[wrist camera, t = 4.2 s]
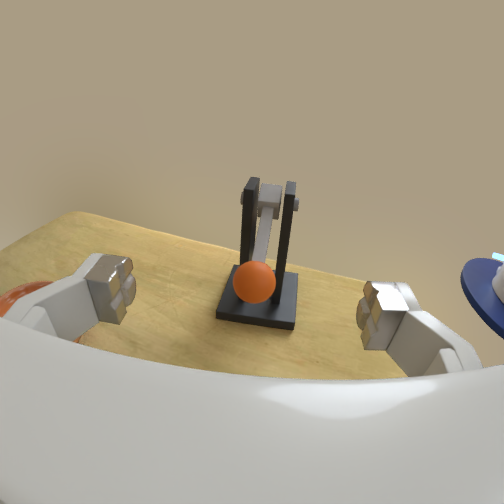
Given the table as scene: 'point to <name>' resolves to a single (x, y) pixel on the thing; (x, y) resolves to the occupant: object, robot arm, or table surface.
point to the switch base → (285, 294)
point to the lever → (260, 251)
